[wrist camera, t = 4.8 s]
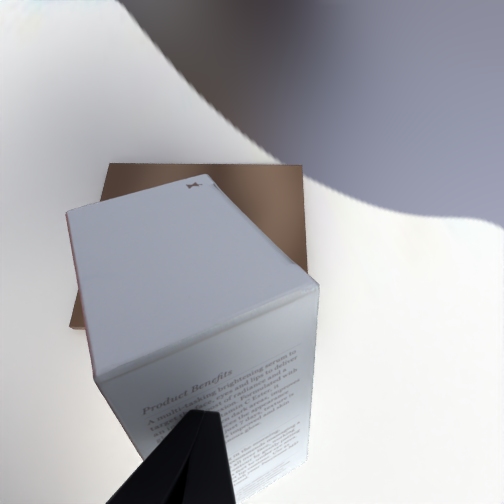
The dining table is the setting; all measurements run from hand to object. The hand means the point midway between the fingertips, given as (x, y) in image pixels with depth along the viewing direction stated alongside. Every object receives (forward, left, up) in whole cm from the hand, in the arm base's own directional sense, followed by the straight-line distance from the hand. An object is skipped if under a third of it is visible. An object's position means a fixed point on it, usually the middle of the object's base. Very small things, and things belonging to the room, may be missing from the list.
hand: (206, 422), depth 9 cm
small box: (-1, 0, -9) cm, 9 cm away
